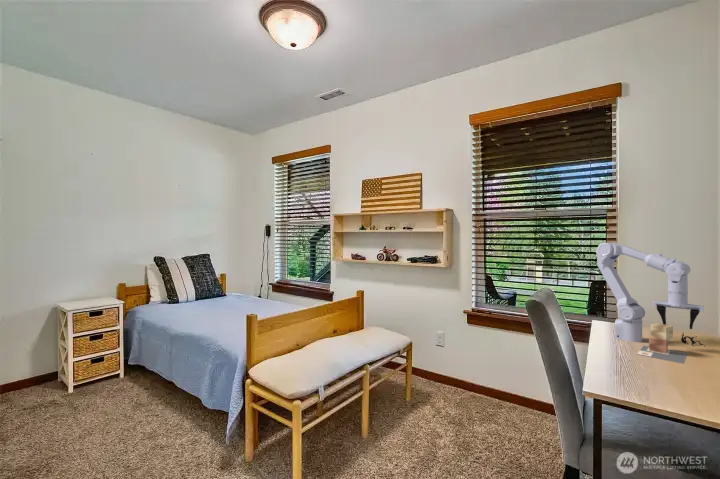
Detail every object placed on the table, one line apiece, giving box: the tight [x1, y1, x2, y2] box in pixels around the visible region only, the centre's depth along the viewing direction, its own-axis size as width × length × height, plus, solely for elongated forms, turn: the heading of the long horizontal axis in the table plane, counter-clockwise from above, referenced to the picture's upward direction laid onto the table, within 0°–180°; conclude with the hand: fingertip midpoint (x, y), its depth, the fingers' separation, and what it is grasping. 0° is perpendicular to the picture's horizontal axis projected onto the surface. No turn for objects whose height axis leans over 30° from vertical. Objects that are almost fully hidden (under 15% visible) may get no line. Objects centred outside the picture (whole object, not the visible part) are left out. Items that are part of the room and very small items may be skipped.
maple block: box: [650, 322, 674, 341], centre depth 135 cm, size 5×5×5 cm
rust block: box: [648, 335, 669, 354], centre depth 135 cm, size 5×5×5 cm
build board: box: [636, 345, 688, 365], centre depth 131 cm, size 13×16×1 cm
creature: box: [680, 332, 706, 347], centre depth 143 cm, size 8×5×8 cm
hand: (677, 326), depth 136 cm, fingers open, 7 cm apart
